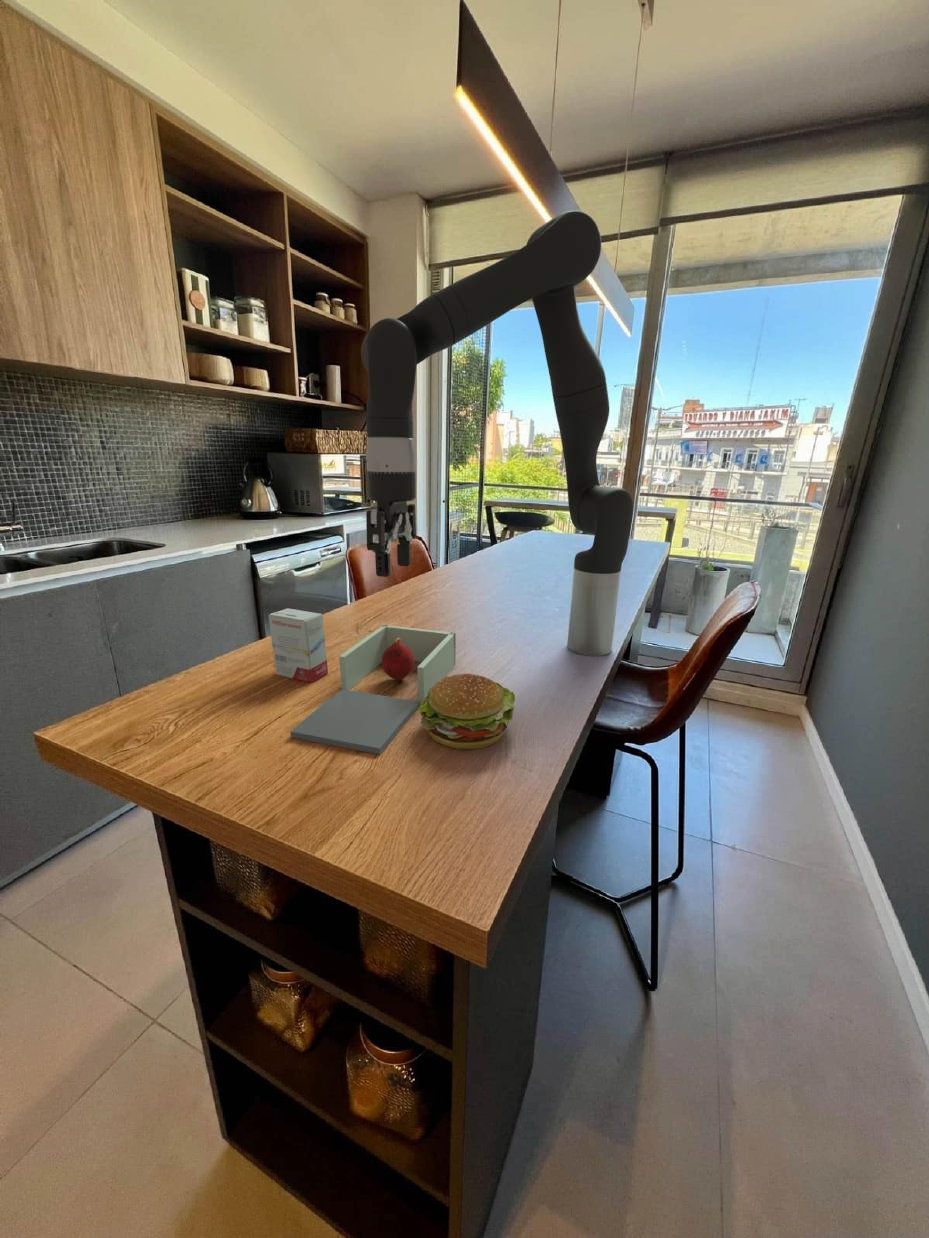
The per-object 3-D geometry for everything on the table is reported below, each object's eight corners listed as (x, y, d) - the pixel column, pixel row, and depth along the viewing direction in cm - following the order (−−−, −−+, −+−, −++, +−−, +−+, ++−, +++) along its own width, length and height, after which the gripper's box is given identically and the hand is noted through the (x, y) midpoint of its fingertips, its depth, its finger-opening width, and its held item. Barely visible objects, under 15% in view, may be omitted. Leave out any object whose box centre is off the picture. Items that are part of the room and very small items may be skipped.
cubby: (384, 655, 99) (383, 624, 97) (455, 664, 95) (455, 633, 93) (341, 691, 83) (339, 656, 81) (423, 704, 79) (423, 667, 77)
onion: (409, 689, 85) (408, 646, 82) (377, 685, 86) (375, 643, 83) (418, 675, 90) (418, 634, 88) (389, 672, 91) (387, 632, 89)
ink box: (329, 673, 90) (324, 612, 87) (311, 684, 86) (305, 620, 82) (293, 665, 94) (287, 606, 90) (274, 674, 90) (267, 613, 86)
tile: (341, 694, 82) (341, 689, 82) (418, 706, 79) (418, 701, 78) (290, 737, 70) (290, 731, 69) (380, 754, 66) (380, 748, 66)
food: (487, 769, 63) (489, 715, 61) (402, 737, 70) (401, 687, 68) (531, 723, 74) (534, 675, 72) (454, 699, 81) (455, 655, 79)
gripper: (395, 470, 69) (398, 582, 74) (429, 468, 82) (430, 564, 87) (347, 469, 71) (353, 578, 76) (388, 467, 84) (391, 561, 89)
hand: (394, 570), depth 81 cm, fingers open, 8 cm apart
